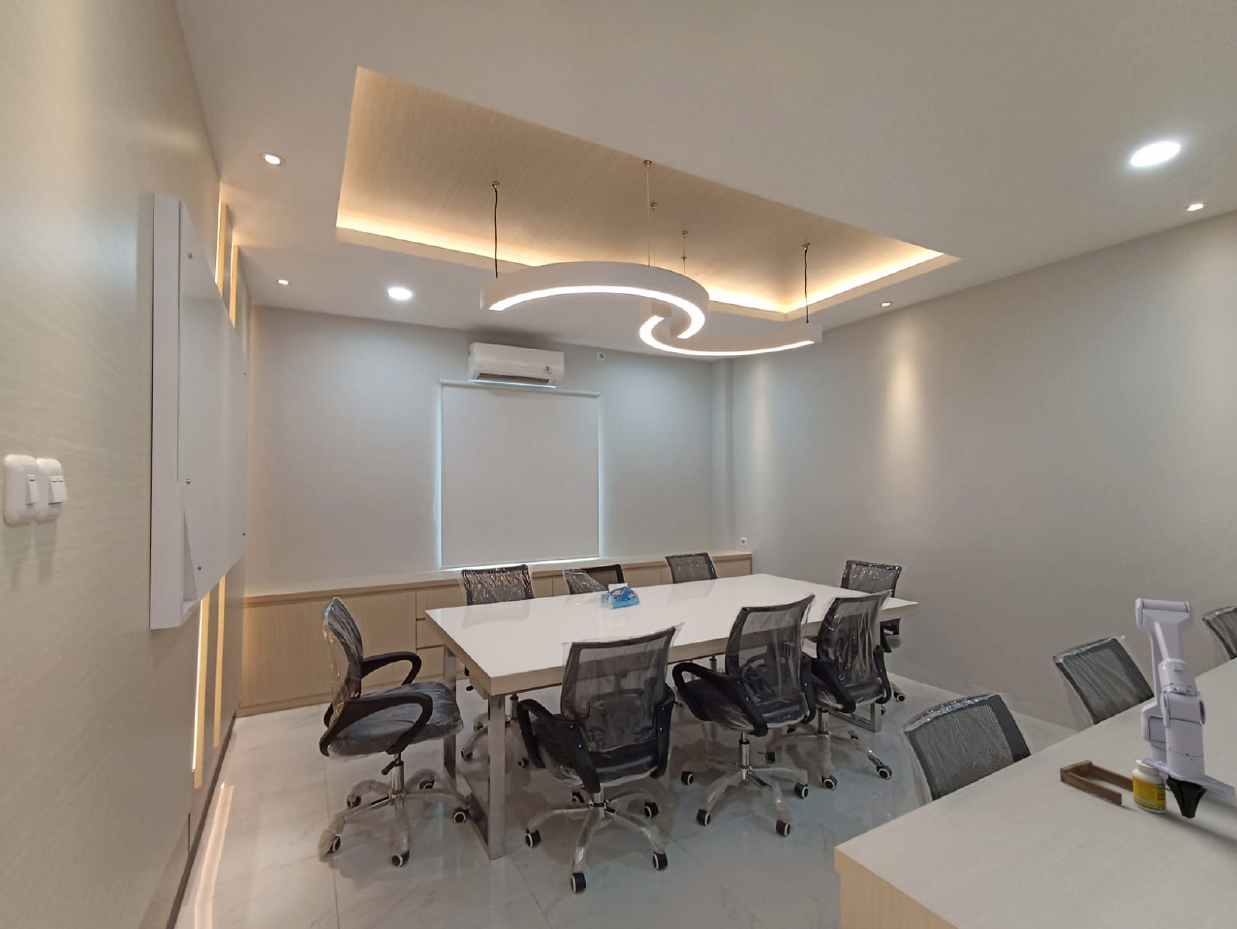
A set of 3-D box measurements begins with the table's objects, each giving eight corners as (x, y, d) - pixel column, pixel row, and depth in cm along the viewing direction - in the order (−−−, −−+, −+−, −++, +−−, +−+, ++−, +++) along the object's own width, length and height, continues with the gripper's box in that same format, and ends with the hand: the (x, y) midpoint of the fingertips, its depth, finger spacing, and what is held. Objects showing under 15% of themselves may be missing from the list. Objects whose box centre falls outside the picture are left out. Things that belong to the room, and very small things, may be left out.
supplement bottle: (1138, 798, 130) (1136, 755, 131) (1169, 809, 126) (1167, 765, 126) (1130, 805, 127) (1128, 762, 128) (1162, 817, 123) (1160, 771, 123)
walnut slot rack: (1087, 772, 142) (1087, 760, 143) (1147, 795, 131) (1146, 782, 132) (1060, 780, 138) (1060, 768, 138) (1119, 805, 127) (1118, 792, 127)
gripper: (1132, 740, 126) (1135, 803, 126) (1221, 769, 113) (1225, 840, 112) (1150, 735, 129) (1153, 796, 128) (1239, 763, 116) (1243, 831, 115)
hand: (1188, 816), depth 120 cm, fingers closed
